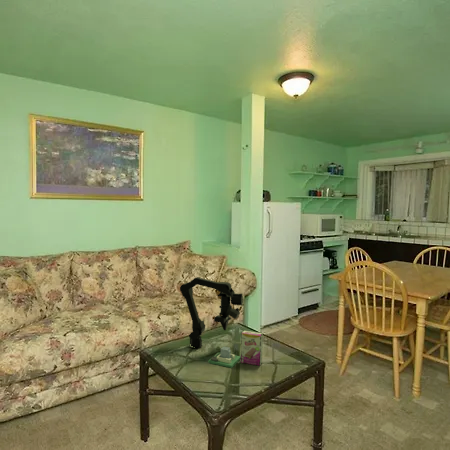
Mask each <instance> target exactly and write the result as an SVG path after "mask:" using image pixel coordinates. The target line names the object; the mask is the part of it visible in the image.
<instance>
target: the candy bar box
mask: <svg viewBox="0 0 450 450" xmlns="http://www.w3.org/2000/svg"><path fill="white" fill-rule="evenodd" d="M263 336H264V333H263V332H257V331H250V330H242V332H241V335H240V356H241V359H240V363H242V364H245V365H246V364H248V365H253V366H257V367H258V366H259V367H260V366H261V365H262V363H263V347H264V346H263V343H264V342H263V341H264V340H263V339H264V337H263Z"/></svg>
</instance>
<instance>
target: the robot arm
mask: <svg viewBox="0 0 450 450" xmlns="http://www.w3.org/2000/svg"><path fill="white" fill-rule="evenodd" d="M197 285H199V286H202V287H206V288H210V289H215V290H216V291H218V292H219V294H217V295H216V297H219V298H220V305H219V309H220V312H219V313H218V314H217V315H216V316H214V318H213V319H214V320H213V321H214V322H216V323H220V325H221V327H222V329H223V331H226V330H227V329H228V325H229V322H230V321H231V319H232V318H233V319H235V320H237V318H239V316H240V314H241V313H240V312H241V311H240V308H238V307H237V308H233V306H232V305H234V306H244V296H243V293H236V292H235V290H234V289H233V288H232V284H231V283H230V282H227V281H216V280H210V279H206V278H203V277H202V278H201V277H200V276H196V277H195V278H193V279H192V280H190V281H188V282H185V283H183V284H181V285H180V286H179V291H180V293H181V296H182V297H183V298H184V299H185V302H186V305H187V309H188V311H189V314H190V315H189V316H190V318H191V321H192V324H191V325H192V326H191V329H192V331H191V332H190V333H189V334H188V337H189V345H190V344H191V346H193V347H195V348H196V349H195V350H199V349H201V348H202V347H203V339H202V334H203V333H204V332H205V330H206V324H205V321H204V320H201V318H200V316H199V313H198V310H197V306H196V303H195V300H194V297H193V296H194V290H193V288H194V287H195V286H197ZM201 346H202V347H201ZM198 348H199V349H198Z"/></svg>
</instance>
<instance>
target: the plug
mask: <svg viewBox="0 0 450 450" xmlns="http://www.w3.org/2000/svg"><path fill="white" fill-rule="evenodd" d="M220 352H221V357H222V358H227V359H230V358H231V354H232V350H231V347H230V346H222V347H221V348H220Z"/></svg>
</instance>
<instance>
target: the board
mask: <svg viewBox="0 0 450 450" xmlns="http://www.w3.org/2000/svg"><path fill="white" fill-rule="evenodd" d="M240 361H241V355H237V354H233V353H231V358H230V359H227V358H222V357H221V351H220V352H219V351H218V352H216V353H215V354H214V355H213V356H212V357H210V358H209V359H208V361H207V363H208V364H210V365H211V364H212V365H216V366H221V367H224V368H225V367H226V368H231V369H233V368H234V367H235V366H236V364H238V362H240Z"/></svg>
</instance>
